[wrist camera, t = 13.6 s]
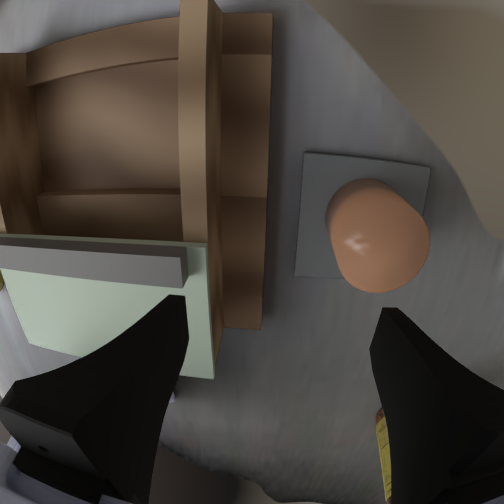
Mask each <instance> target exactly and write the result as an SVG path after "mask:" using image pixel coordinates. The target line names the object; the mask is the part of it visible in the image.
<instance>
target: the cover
mask: <svg viewBox="0 0 504 504" xmlns="http://www.w3.org/2000/svg"><path fill="white" fill-rule="evenodd" d="M0 270H1V273H2V276H3V279H4V282H5V284H6V287H7V290H8V293H9V296H10V298H11V301H12V303H13V306H14V309H15V311H16V314H17V316H18V318H19V321H20V323H21V326H22V328H23V330H24V332H25V335H26V337H27V339H28V341H29V343H30V344H33V345H37V346H40V347H44V348H48V349H51V350H55V351H59V352H63V353H67V354H71V355H75V356H79V357H84V356H86V355H88V354H90V353H92V352H93V351H95V350H97V349H99V348H100V347H102V346H104V345H105V344H107V343H108V342H110V341H111V340H113V339H114V338H116V337H117V336H119V335H120V334H121V333H123V332H124V331H125V330H127V329H128V328H129V327H131V326H132V325H133V324H135V323H136V322H137V321H138V320H139V319H141V318H142V317H143V316H144V315H145V314H147V313H148V312H149V311H150V310H151V309H152V308H154V307H155V306H156V305H157V304H158V303H159V302H161V301H162V300H163V299H164V298H165V297H167V296H168V295H169V294H172V295H183V296H185V298H186V309H187V320H188V329H189V343H188V347H187V352H186V356H185V360H184V363H183V366H182V369H181V372H180V374H179V375H182V376H190V377H198V378H206V379H214V377H215V364H214V351H213V337H212V322H211V306H210V288H209V268H208V246H207V243H195V242H176V241H156V240H136V239H115V238H94V237H72V236H50V235H27V234H4V233H0Z"/></svg>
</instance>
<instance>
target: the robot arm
mask: <svg viewBox="0 0 504 504" xmlns="http://www.w3.org/2000/svg"><path fill="white" fill-rule="evenodd" d="M188 343H189V329H188V320H187V309H186V298H185V296H183V295H172V294H169V295H168V296H167V297H165V298H164V299H163V300H162V301H161V302H159V303H158V304H157V305H156V306H155V307H154V308H152V309H151V310H150V311H149V312H148V313H147V314H145V315H144V316H143V317H142V318H141V319H139V320H138V321H137V322H136V323H135V324H133V325H132V326H131V327H129V328H128V329H127V330H125V331H124V332H123V333H121V334H120V335H119V336H117V337H116V338H114V339H113V340H111V341H110V342H108V343H107V344H105V345H104V346H102V347H100V348H99V349H97V350H95V351H93V352H92V353H90V354H88V355H86V356H84V357H80V358H79V359H78V360H76V361H74V362H72V363H70V364H67V365H65V366H62V367H60V368H58V369H55V370H52V371H49V372H47V373H43V374H40V375H37V376H33V377H30V378H26V379H22V380H18V381H15V382H14V384H13V385H12V386H11V388H10V389H9V391H8V392H7V394H6V395H5V397H4V398H3V400H2V401H1V403H0V420H1V422H2V424H3V425H4V426H5V428H6V429H7V430H8V431H9V433H10V434H11V435H12V436H11V438H10V440H9V441H8V443H7V445H5V444H4V443H2V442H0V504H148V502H149V494H150V486H151V479H152V473H153V467H154V461H155V456H156V451H157V445H158V441H159V436H160V432H161V428H162V423H163V419H164V416H165V412H166V409H167V406H168V404H169V402H170V403H172V402H174V401H175V395H174V391H173V390H174V388H175V385H176V382H177V380H178V377H179V374H180V372H181V369H182V366H183V363H184V360H185V356H186V352H187V347H188ZM369 349H370V356H371V364H372V370H373V374H374V378H375V382H376V385H377V389H378V393H379V396H380V400H381V404H382V408H383V411H384V415H385V419H386V424H387V430H388V438H389V447H390V461H391V504H504V390H503V389H500V388H499V387H497V386H495V385H493V384H491V383H489V382H488V381H486V380H484V379H483V378H481V377H479V376H478V375H476V374H475V373H473V372H471V371H470V370H469V369H467V368H466V367H465V366H463V365H462V364H460V363H459V362H458V361H456V360H455V359H454V358H453V357H451V356H450V355H449V354H448V353H447V352H445V351H444V350H443V349H442V348H441V347H440V346H438V345H437V344H436V343H435V342H434V341H433V340H432V339H431V338H430V337H429V336H427V335H426V334H425V333H424V332H423V331H422V330H421V329H420V328H419V327H418V326H417V325H416V324H415V323H414V322H413V321H412V320H411V319H410V318H408V317H407V316H406V315H405V314H404V313H403V312H402V311H401V310H399V309H398V308H386V307H383V308H382V311H381V314H380V318H379V321H378V324H377V327H376V330H375V333H374V337H373V340H372V343H371V346H370V348H369Z"/></svg>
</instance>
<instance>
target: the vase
mask: <svg viewBox="0 0 504 504" xmlns="http://www.w3.org/2000/svg"><path fill="white" fill-rule="evenodd" d="M3 283H4V279H3V276H2V273H1V270H0V291H1V289H2V287H3Z"/></svg>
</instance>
